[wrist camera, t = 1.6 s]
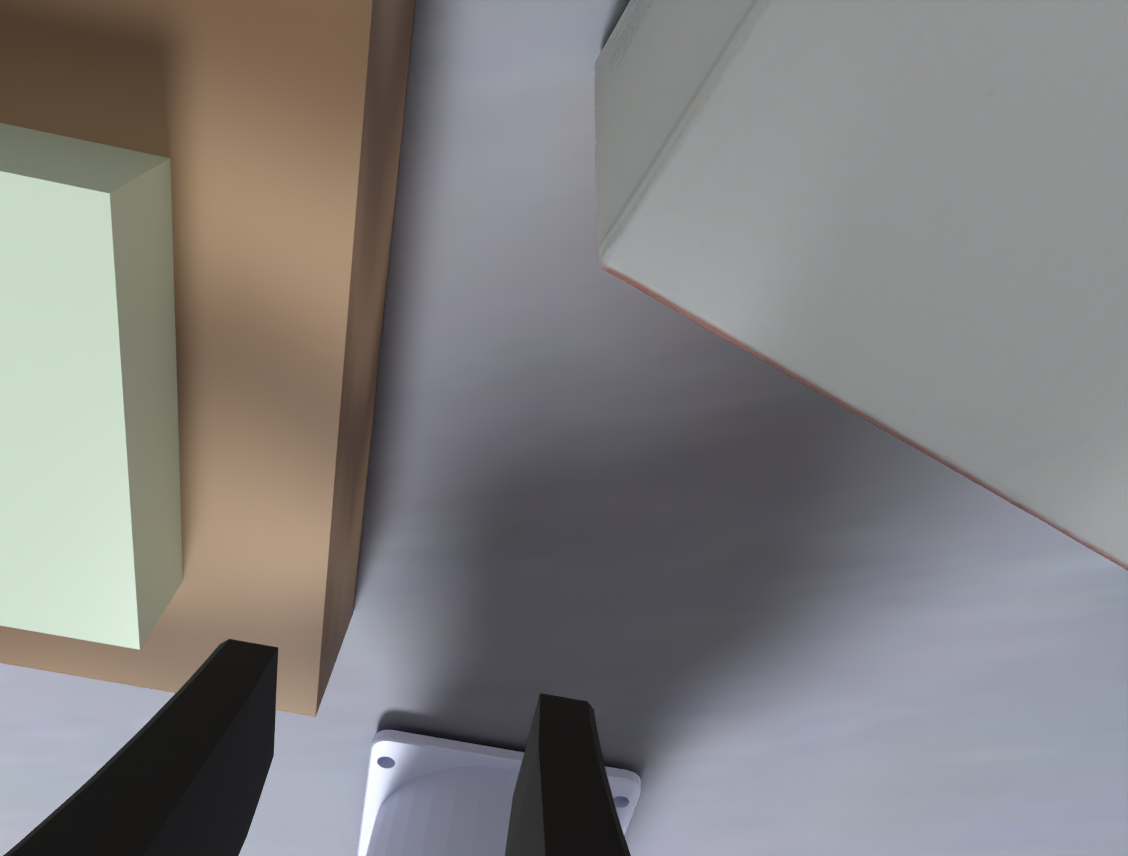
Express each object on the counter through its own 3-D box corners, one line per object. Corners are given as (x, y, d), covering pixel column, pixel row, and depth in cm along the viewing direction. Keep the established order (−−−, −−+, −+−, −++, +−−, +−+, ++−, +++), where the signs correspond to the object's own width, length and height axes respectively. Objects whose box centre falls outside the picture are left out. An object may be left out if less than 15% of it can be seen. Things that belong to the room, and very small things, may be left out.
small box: (588, 65, 16) (561, 262, 7) (774, -262, 14) (1080, -561, 5) (918, 278, 18) (1220, 646, 9) (1137, 25, 16) (1848, 191, 7)
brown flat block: (352, 613, 24) (315, 716, 21) (-188, 516, 23) (-309, 610, 20) (421, -53, 16) (375, -43, 13) (-414, -244, 15) (-678, -281, 12)
